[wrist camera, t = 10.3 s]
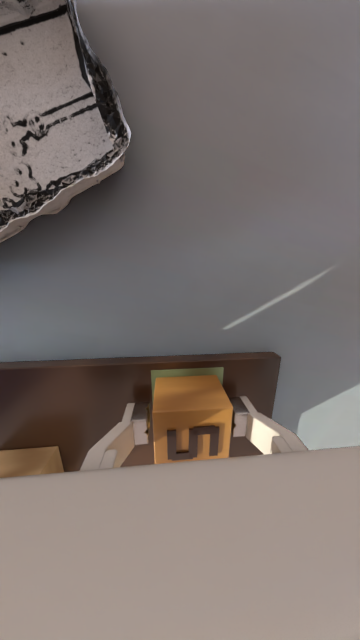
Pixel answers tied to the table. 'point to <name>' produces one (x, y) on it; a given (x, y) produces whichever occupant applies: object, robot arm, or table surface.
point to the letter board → (108, 404)
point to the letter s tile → (190, 419)
